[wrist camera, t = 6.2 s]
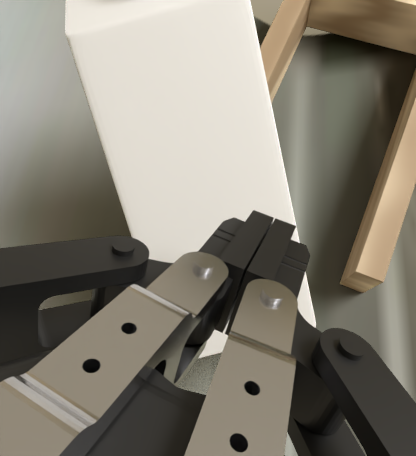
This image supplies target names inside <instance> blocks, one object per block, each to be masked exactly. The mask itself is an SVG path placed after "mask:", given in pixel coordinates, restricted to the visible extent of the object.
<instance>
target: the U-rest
mask: <svg viewBox="0 0 416 456" xmlns="http://www.w3.org/2000/svg"><path fill="white" fill-rule="evenodd" d="M306 27H311V28H314V29H319V30H322V31H326V32H330V33H334V34H338V35H341V36H345V37H349V38H353V39H357V40H361V41H364V42H368V43H372V44H376V45H380V46H384V47H388V48H391V49H395V50H399V51H403V52H407V53H411V54H415V55H416V0H283V2H282V4H281V6H280V8H279V10H278V12H277V14H276V16H275V18H274V20H273V22H272V24H271V26H270V28H269V30H268V33H267V35H266V37H265V39H264V41H263V43H262V45H261V47H260V51H261V56H262V61H263V65H264V70H265V75H266V80H267V85H268V90H269V95H270V100H271V103H272V101H273V99H274V97H275V95H276V92H277V90H278V88H279V86H280V84H281V81H282V79H283V77H284V75H285V73H286V70H287V68H288V66H289V64H290V62H291V60H292V57H293V55H294V53H295V51H296V49H297V46H298V44H299V42H300V40H301V38H302V35H303V33H304V31H305V29H306ZM415 183H416V69H415V72H414V74H413V77H412V80H411V83H410V86H409V89H408V91H407V94H406V97H405V100H404V103H403V106H402V108H401V111H400V114H399V117H398V120H397V123H396V125H395V128H394V131H393V134H392V137H391V140H390V142H389V145H388V148H387V151H386V154H385V157H384V159H383V162H382V165H381V168H380V171H379V174H378V176H377V179H376V182H375V185H374V188H373V191H372V193H371V196H370V199H369V202H368V205H367V208H366V210H365V213H364V216H363V219H362V222H361V225H360V227H359V230H358V233H357V236H356V239H355V242H354V244H353V247H352V250H351V253H350V256H349V259H348V261H347V264H346V267H345V270H344V273H343V276H342V278H341V281H340V284H341V285H344V286H346V287H349V288H351V289H354V290H357V291H359V292H362V293H364V292H366V291H367V290H369V289H371V288H373V287H375V286H377V285H379V284H381V283H383V282H384V279H385V276H386V273H387V270H388V267H389V264H390V260H391V257H392V254H393V251H394V248H395V245H396V242H397V239H398V236H399V233H400V230H401V226H402V223H403V220H404V217H405V214H406V211H407V208H408V205H409V202H410V199H411V195H412V192H413V189H414V186H415Z"/></svg>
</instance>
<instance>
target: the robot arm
mask: <svg viewBox="0 0 416 456" xmlns="http://www.w3.org/2000/svg"><path fill="white" fill-rule="evenodd" d="M273 220H274V217H271V216H268V215H266V214H263V213H261V212H258V211H255V210H253V211H252V213H251V214H250V215H249V217H248V218H247V220H246V221H245V222H244V221H242V220H239V219H237V218H231V219H228V220H225V221H223V222H222V223H221V224H220V226H219V227H218V228H217V230H215V232H214V233H213V234H212V235H211V236H210V238H209V239H208V240H207V241H206V242H205V244H204V245H203V246H202V247H201V248H200V250H199V251H198V252H189V253H186V254H184V255H182V256H181V257H180V258H179V259H178V260H176V261H175V262H174V263H168V262H162V261H157V260H152V259H149V250H148V248H147V246H146V245H145V244H144V243H143V242H141V241H139V240H137V239H135V238H132V237H128V236H109V237H100V238H91V239H81V240H72V241H63V242H54V243H45V244H35V245H26V246H17V247H8V248H0V456H285V455H284V452H285V445H286V437H287V432H288V434H289V436H290V438H291V441H292V443H293V445H294V447H295V449H296V452H297V454H298V456H365V454H364V453H363V451H362V449H361V448H360V446H359V444H358V443H357V441H356V439H355V437H354V436H353V434H352V432H351V431H350V429H349V427H348V426H347V424H346V422H345V421H344V420H345V419H347V421H348V423H349V424H350V426H351V428H352V429H353V431H354V433H355V434H356V436H357V438H358V439H359V441H360V443H361V444H362V446H363V448H364V450H365V452H366V454H367V456H416V403H415V402H414V400H413V399H412V398H411V397H410V395H409V394H408V393H407V391H406V390H405V389H404V388H403V386H402V385H401V384H400V382H399V381H398V380H397V379H396V377H395V376H394V375H393V373H392V372H391V371H390V370H389V368H388V367H387V366H386V364H385V363H384V362H383V361H382V359H381V358H380V357H379V355H378V354H377V353H376V351H375V350H374V349H373V348H372V347H371V345H370V344H369V343H368V342H366V341H365V340H364V339H363V338H361V337H360V336H358V335H357V334H355V333H353V332H350V331H348V330H345V329H340V328H331V329H327V330H325V331H324V332H323V333H322V332H320V331H319V330H317V329H316V328H315V327H313V326H312V325H311V324H309V323H308V322H307V321H306V320H305V319H304V318H303V316H302V315H301V313H300V312H299V310H298V301H297V298H298V295H299V292H300V288H301V285H302V281H303V278H304V275H305V271H306V268H307V264H308V261H309V258H310V254H309V251H308V249H307V246H306V245H304V244H301V243H298V242H296V241H293V240H291V238H292V235H293V233H294V230H295V228H296V226H295V225H292V224H290V223H287V222H284V221H282V220H279V219H277V218H275V220H274V222H273ZM272 223H273V224H272ZM90 289H92V300H90V301H85V302H79V303H74V304H69V305H64V306H59V307H54V308H48V309H43V310H38V308H39V306H40V304H41V303H42V302H43V301H44V300H46V299H47V298H49V297H52V296H56V295H62V294H68V293H73V292H79V291H84V290H90ZM229 319H230V320H229ZM228 321H229V323H228ZM227 323H228V326H227V329H226V332H225V334H226V335H228V338H227V340H226V343H225V346H224V349H223V351H222V354H221V357H220V360H219V362H218V365H217V368H216V370H215V373H214V376H213V379H212V381H211V384H210V387H209V390H208V392H207V395H203V394H199V393H195V392H191V391H187V390H183V389H180V388H178V387H179V385H180V384H181V382H182V381H183V380H184V378H185V377H186V375H187V374H188V372H189V371H190V369H191V368H192V366H193V365H194V363H195V362H196V360H197V359H198V358H199V356H200V355H201V353H202V352H203V350H204V348H205V346H206V343H207V340H208V339H209V338H210V337H211V335H212V333H213V331H214V330H217V331H219V332H221V333H223V331H224V329H225V327H226V325H227Z"/></svg>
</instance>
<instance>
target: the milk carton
mask: <svg viewBox="0 0 416 456" xmlns="http://www.w3.org/2000/svg"><path fill="white" fill-rule="evenodd" d="M65 34H66V36H67V40H68V43H69V46H70V49H71V52H72V55H73V58H74V61H75V64H76V67H77V71H78V74H79V77H80V80H81V83H82V86H83V89H84V92H85V95H86V98H87V101H88V104H89V107H90V111H91V114H92V117H93V120H94V123H95V126H96V129H97V132H98V135H99V138H100V141H101V144H102V147H103V151H104V154H105V157H106V160H107V163H108V166H109V169H110V172H111V175H112V178H113V181H114V184H115V187H116V191H117V194H118V197H119V200H120V203H121V206H122V209H123V212H124V215H125V218H126V221H127V224H128V227H129V231H130V234H131V237H132V238H135V239H137V240H139V241H141V242H143V243H144V244H145V245H146V246H147V248H148V250H149V259H152V260H157V261H162V262H168V263H174V262H175V261H176V260H178V259H179V258H180V257H181V256H182V255H184V254H186V253H189V252H198V251H199V250H200V248H201V247H202V246H203V245H204V244H205V242H206V241H207V240H208V239H209V238H210V236H211V235H212V234H213V233H214V232H215V230H217V228H218V227H219V226H220V224H221V223H222V222H223V221H225V220H228V219H231V218H237V219H239V220H242V221H244V222H245V221H246V220H247V218H248V217H249V215H250V214H251V213H252V211H253V210H255V211H258V212H261V213H263V214H266V215H268V216H271V217H274V220H275V218H277V219H279V220H282V221H284V222H287V223H290V224H292V225H295V226H296V223H295V218H294V213H293V208H292V203H291V198H290V193H289V188H288V183H287V178H286V174H285V169H284V164H283V159H282V154H281V149H280V144H279V139H278V134H277V129H276V124H275V119H274V115H273V110H272V105H271V100H270V95H269V90H268V85H267V80H266V75H265V70H264V65H263V61H262V56H261V51H260V46H259V41H258V36H257V31H256V26H255V21H254V16H253V11H252V7H251V2H250V0H66V12H65ZM274 220H273V222H274ZM272 224H273V223H272ZM291 240H293V241H296V242H298V243H300V242H299V237H298V232H297V228H295V230H294V233H293V235H292V238H291ZM297 301H298V310H299V312H300V313H301V315H302V316H303V318H304V319H305V320H306V321H307V322H308V323H309V324H311V325H312V326H313V327H316V321H315V316H314V311H313V306H312V301H311V296H310V291H309V286H308V282H307V277H306V272H305V275H304V278H303V281H302V285H301V288H300V292H299V295H298V298H297ZM229 320H230V319H229ZM228 323H229V321H228ZM228 323H227V325H226V327H225V329H224V331H223V333H221V332H219V331H217V330H214V331H213V333H212V335H211V337H210V338H209V339H208V340H207V343H206V346H205V348H204V350H203V352H202V353H201V355H200V356H199V358H201V357H205V356H209V355H213V354H217V353H221V352H222V351H223V349H224V346H225V343H226V340H227V338H228V335H226V334H225V332H226V329H227V326H228Z"/></svg>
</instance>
